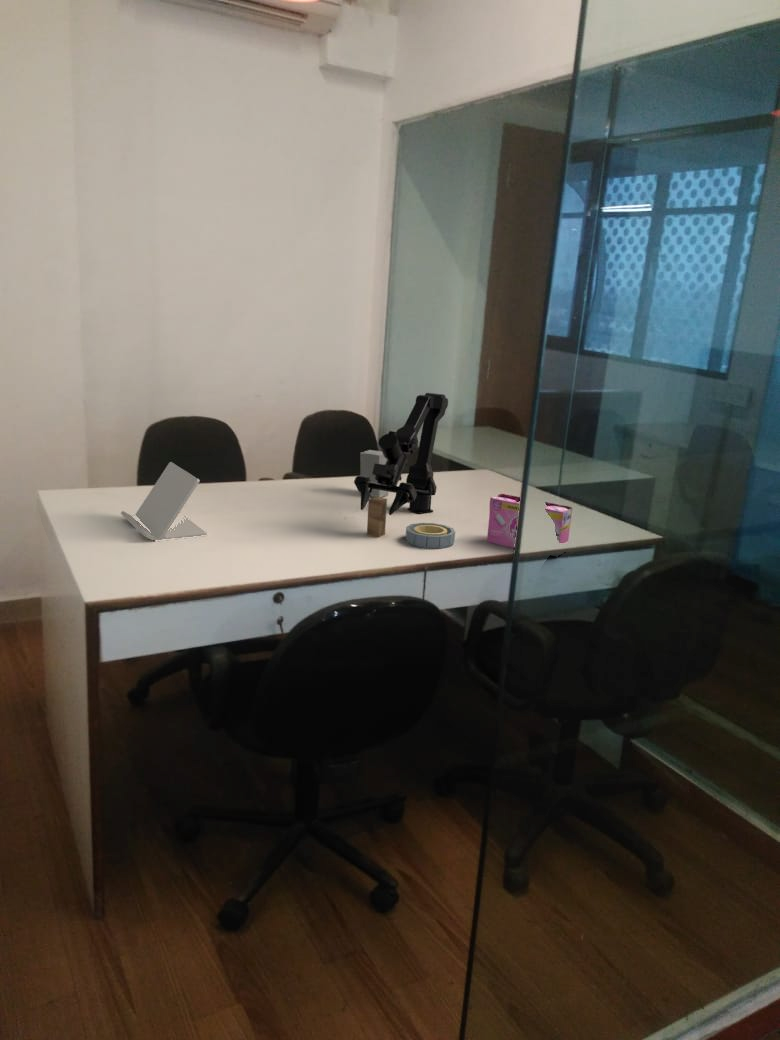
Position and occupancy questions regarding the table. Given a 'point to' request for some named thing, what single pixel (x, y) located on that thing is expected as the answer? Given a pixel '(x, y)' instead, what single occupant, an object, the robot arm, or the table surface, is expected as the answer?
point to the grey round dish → (430, 535)
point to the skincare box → (367, 466)
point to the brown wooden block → (376, 517)
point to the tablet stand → (167, 506)
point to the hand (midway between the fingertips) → (375, 511)
